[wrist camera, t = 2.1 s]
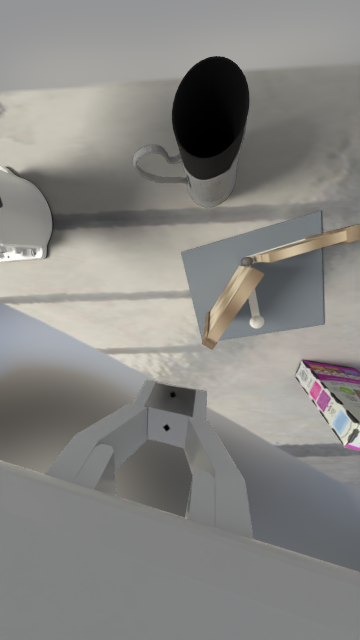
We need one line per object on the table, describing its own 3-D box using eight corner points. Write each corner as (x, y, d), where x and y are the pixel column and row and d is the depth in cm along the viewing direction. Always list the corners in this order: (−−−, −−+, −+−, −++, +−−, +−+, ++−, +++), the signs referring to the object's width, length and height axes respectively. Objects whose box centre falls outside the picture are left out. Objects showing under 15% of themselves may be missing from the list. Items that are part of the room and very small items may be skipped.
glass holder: (239, 198, 31) (260, 148, 17) (165, 221, 34) (133, 195, 20) (232, 139, 28) (251, 22, 15) (154, 170, 32) (108, 101, 18)
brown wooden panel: (238, 264, 34) (252, 267, 21) (245, 269, 34) (265, 274, 21) (205, 316, 38) (201, 343, 26) (212, 320, 38) (212, 349, 26)
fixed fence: (242, 267, 34) (254, 270, 24) (240, 258, 34) (251, 257, 24) (314, 245, 31) (364, 238, 21) (314, 235, 30) (363, 222, 20)
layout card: (202, 342, 41) (202, 343, 41) (181, 252, 36) (180, 252, 35) (322, 323, 35) (324, 324, 35) (319, 211, 29) (321, 210, 29)
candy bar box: (293, 377, 40) (342, 448, 25) (300, 359, 38) (358, 423, 23) (346, 386, 39) (434, 469, 23) (356, 368, 37) (457, 443, 22)
